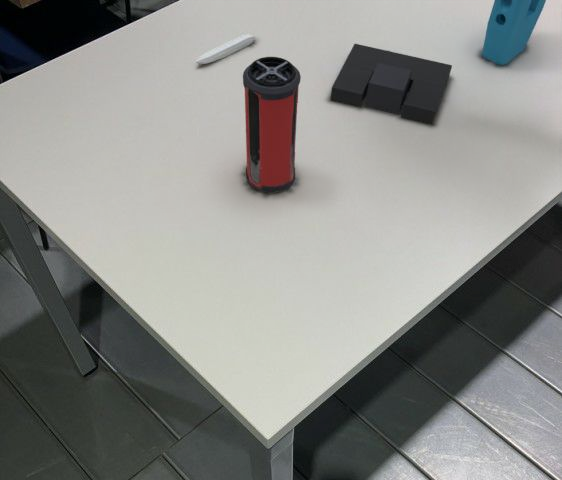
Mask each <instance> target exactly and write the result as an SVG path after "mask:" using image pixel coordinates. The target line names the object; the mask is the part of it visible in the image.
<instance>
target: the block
mask: <svg viewBox="0 0 562 480" xmlns="http://www.w3.org/2000/svg"><path fill="white" fill-rule="evenodd" d="M546 1H547V0H494V2H493V5H492V8H491V12H490V13H489V14H490V15H489V17H488V20H487V26H486V30H485V36H484V42H483V47H482V53H481V56H482V58H484V59H486V60H488V61H489V62H492V63H494V64H496V65H498V66H506V65H508V63H510V62H511V61H512V60H513V59H515V58H516V57H517V56H518V55H520V54H521V53H522V52H523V51H524V50H525V49H526V46H527V45H528V42H529V40H530V38H531V36H532V34H533V31H534V29H535V27H536V25H537V23H538V20H539V19H540V16H541V14H542V12H543V9H544V6H545V5H546Z"/></svg>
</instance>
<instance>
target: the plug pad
mask: <svg viewBox="0 0 562 480" xmlns="http://www.w3.org/2000/svg"><path fill="white" fill-rule="evenodd" d="M411 73H412V71H411V70H407V69H402V68H398V67H394V66H389V65H385V64H380V63H378V64H377V66H376V68H375V70H374V73H373V75H372V77H371V79H370V81H369V84H368V91H367V94H366V96H365V104H364V107H366V108H369V109H375V110H378V111H382V112H387V113H391V114H395V115H400V113H401V110H402V109H403V105H404V102H405V100H406V98H407V95H408V93H409V92H408V87H409V82H410V78H411Z"/></svg>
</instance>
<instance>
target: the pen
mask: <svg viewBox="0 0 562 480" xmlns="http://www.w3.org/2000/svg"><path fill="white" fill-rule="evenodd" d="M255 39H256V36H255V35H254V34H251V33H245V34H242V35H240V36H238V37H236V38H234V39H231V40H229V41H227V42H225V43H223V44H221V45H218V46H216V47H215V48H213V49H210V50H209V51H207V52H205V53H202V54H201V55H200V56H198V57H197V59H196V61H195V63H196V64H203V65H204V64H205V65H206V64H211V63H213V62H215V61H219V60H221V59H224V58H227V57H228V56H230V55H232V54H234V53H236V52H239V51H240V50H242V49H244V48H246V47H249V46H250V45H252V44H253V43H254V42H255Z"/></svg>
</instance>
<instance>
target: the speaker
mask: <svg viewBox="0 0 562 480" xmlns="http://www.w3.org/2000/svg"><path fill="white" fill-rule="evenodd" d="M242 73H243V74H242V84H243V88H244V111H245V113H244V114H245V145H246V147H245V149H246V151H245V152H246V167H245V179H246V181H247V183H248V184H249V185H250V186H251V187H252V188H254V189H256V190H257V191H260V192H264V193H279V192H282V191H284V190H286V189H289V188H290V187H291V186H292V185H293V184H294V182H295V180H296V166H295V163H296V161H295V160H296V139H297V138H296V137H297V117H298V103H299V86H300V84H301V79H302V77H301V72H300V70H299V69H298V68H297V67H296V66H295V65H294V64H293V63H291V62H290V61H289V60H288V59H286V58H282V57H279V56H264V57H260V58H258V59H256V60H254V61H253V62H252V63H250V64H249V65H248V66H247V67H245V69H244V70H243V72H242Z"/></svg>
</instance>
